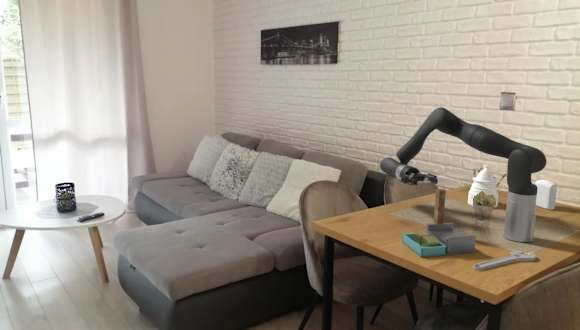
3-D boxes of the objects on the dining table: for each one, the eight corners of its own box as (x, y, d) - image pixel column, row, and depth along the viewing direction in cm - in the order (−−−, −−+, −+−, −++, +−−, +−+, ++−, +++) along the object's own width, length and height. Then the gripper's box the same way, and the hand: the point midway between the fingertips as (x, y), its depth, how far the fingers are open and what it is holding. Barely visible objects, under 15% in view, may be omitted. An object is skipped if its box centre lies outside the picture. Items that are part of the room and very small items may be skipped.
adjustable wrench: (477, 273, 134) (478, 267, 134) (462, 264, 140) (462, 259, 140) (538, 261, 143) (539, 255, 142) (522, 253, 149) (522, 248, 148)
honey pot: (470, 199, 216) (473, 162, 212) (499, 202, 209) (502, 165, 206) (465, 205, 205) (468, 167, 201) (495, 209, 198) (499, 170, 195)
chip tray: (425, 240, 160) (425, 232, 159) (446, 255, 146) (446, 246, 146) (401, 241, 158) (402, 233, 157) (421, 257, 144) (421, 248, 144)
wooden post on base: (435, 229, 171) (438, 186, 168) (447, 237, 163) (451, 192, 159) (428, 229, 171) (430, 187, 167) (440, 237, 162) (443, 192, 159)
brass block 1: (425, 231, 156) (414, 231, 155) (431, 235, 152) (420, 235, 151) (424, 242, 156) (414, 242, 156) (430, 246, 153) (419, 246, 152)
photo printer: (530, 204, 207) (533, 178, 205) (538, 203, 208) (541, 177, 206) (547, 210, 197) (551, 183, 195) (556, 209, 198) (559, 182, 196)
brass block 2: (432, 235, 151) (422, 236, 150) (438, 239, 147) (427, 240, 147) (432, 246, 152) (421, 247, 151) (438, 251, 148) (427, 252, 147)
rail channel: (450, 238, 162) (452, 222, 161) (474, 252, 148) (475, 235, 147) (425, 240, 160) (426, 224, 159) (447, 255, 146) (448, 237, 145)
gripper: (392, 166, 187) (410, 173, 172) (423, 165, 190) (443, 171, 174) (391, 183, 188) (409, 192, 173) (422, 182, 191) (442, 190, 176)
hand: (426, 182), depth 174 cm, fingers open, 8 cm apart
